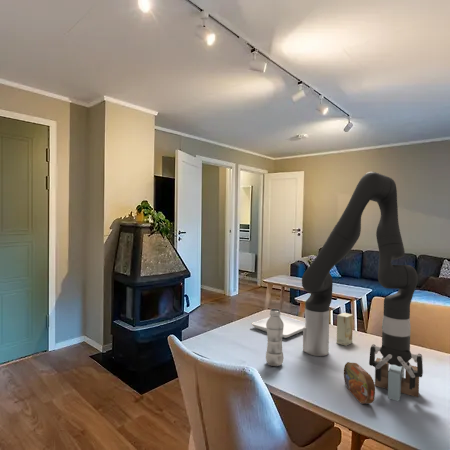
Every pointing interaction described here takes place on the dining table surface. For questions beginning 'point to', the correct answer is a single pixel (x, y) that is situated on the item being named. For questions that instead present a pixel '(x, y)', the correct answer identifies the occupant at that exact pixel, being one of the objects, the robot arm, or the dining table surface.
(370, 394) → the tin
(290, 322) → the salad plate
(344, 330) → the skincare box
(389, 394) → the cross plate
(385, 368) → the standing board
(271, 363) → the plastic bottle
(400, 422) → the dining table surface
